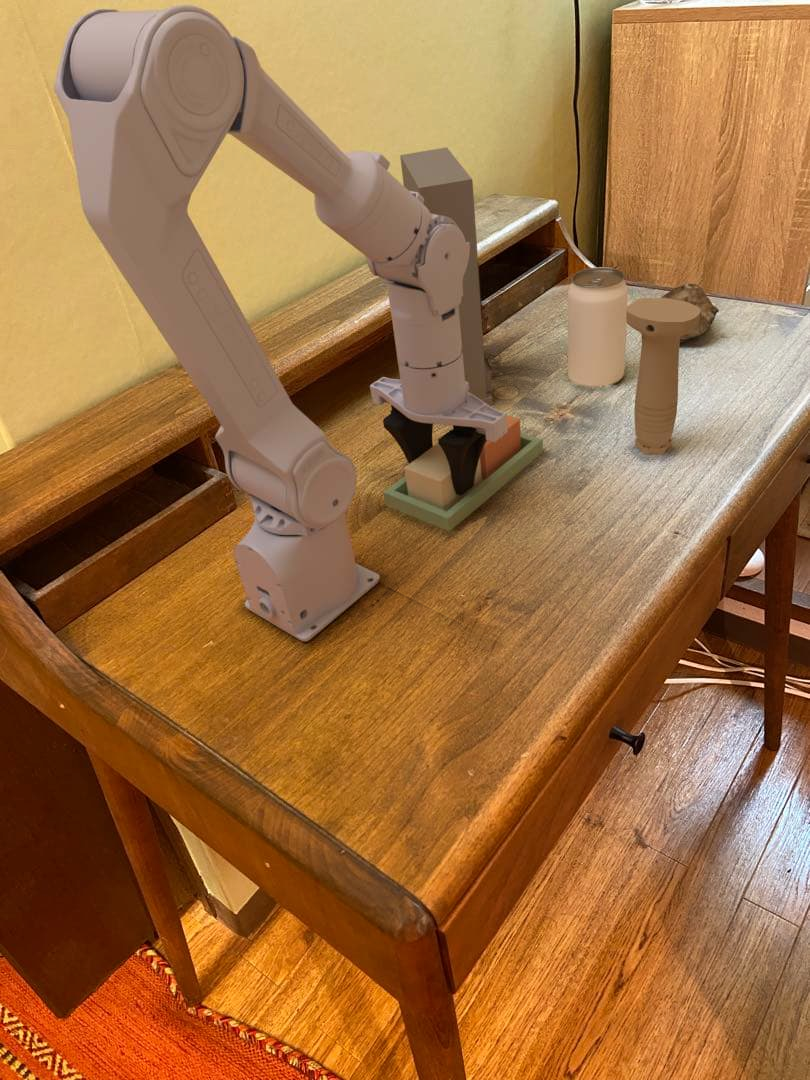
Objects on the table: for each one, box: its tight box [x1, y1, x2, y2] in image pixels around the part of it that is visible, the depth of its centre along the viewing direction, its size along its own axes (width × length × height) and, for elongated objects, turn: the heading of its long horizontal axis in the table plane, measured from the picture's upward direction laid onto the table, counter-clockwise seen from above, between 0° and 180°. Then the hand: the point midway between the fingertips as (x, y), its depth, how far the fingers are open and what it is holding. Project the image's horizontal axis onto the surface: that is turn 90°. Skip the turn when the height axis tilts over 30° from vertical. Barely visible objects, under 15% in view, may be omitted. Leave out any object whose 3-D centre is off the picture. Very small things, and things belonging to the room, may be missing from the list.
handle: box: [626, 297, 701, 456], centre depth 78 cm, size 5×6×15 cm
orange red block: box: [480, 415, 521, 480], centre depth 83 cm, size 6×4×4 cm
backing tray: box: [382, 431, 544, 532], centre depth 82 cm, size 16×8×2 cm, turn 139°
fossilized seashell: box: [660, 283, 720, 343], centre depth 101 cm, size 8×7×10 cm
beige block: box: [404, 442, 482, 511], centre depth 80 cm, size 6×4×4 cm
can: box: [567, 266, 629, 387], centre depth 93 cm, size 6×6×12 cm
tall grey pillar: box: [399, 147, 494, 407], centre depth 91 cm, size 14×6×25 cm, turn 8°
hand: (444, 482), depth 80 cm, fingers closed on beige block, 4 cm apart
